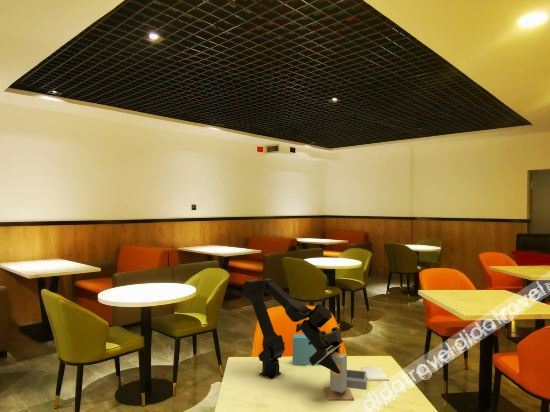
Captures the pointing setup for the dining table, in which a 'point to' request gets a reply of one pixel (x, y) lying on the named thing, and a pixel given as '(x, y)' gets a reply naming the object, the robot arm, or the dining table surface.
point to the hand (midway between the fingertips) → (342, 370)
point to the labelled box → (339, 380)
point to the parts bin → (356, 379)
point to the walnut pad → (338, 395)
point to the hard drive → (375, 374)
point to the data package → (302, 350)
